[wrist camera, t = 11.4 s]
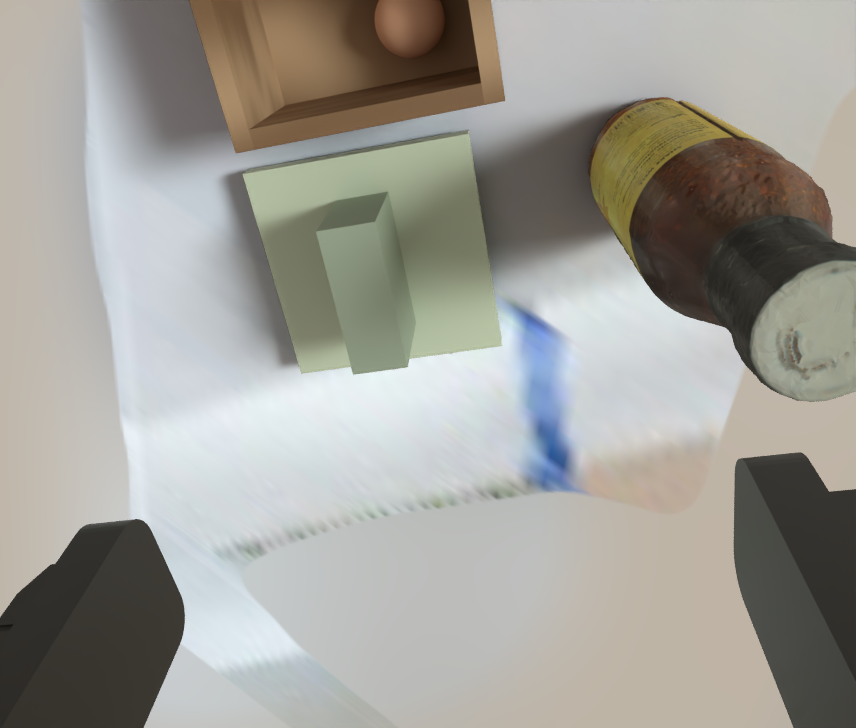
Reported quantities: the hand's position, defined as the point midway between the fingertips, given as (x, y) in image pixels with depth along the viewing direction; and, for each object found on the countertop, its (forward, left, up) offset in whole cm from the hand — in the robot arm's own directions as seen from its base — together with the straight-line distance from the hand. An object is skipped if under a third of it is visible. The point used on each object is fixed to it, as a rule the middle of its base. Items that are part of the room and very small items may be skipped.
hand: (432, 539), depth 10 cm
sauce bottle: (+3, +8, -30) cm, 31 cm away
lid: (+5, -6, -29) cm, 30 cm away
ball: (-5, -2, -29) cm, 29 cm away
